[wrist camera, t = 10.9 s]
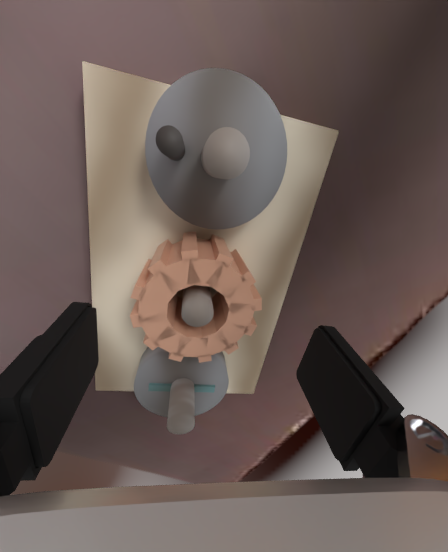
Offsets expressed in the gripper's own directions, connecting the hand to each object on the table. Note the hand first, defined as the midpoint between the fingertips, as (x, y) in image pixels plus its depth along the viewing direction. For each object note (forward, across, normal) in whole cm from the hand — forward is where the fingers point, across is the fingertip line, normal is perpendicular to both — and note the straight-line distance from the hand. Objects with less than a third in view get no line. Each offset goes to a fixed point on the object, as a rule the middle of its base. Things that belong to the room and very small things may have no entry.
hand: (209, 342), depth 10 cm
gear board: (+9, 0, +1) cm, 9 cm away
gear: (+7, 0, +1) cm, 7 cm away
